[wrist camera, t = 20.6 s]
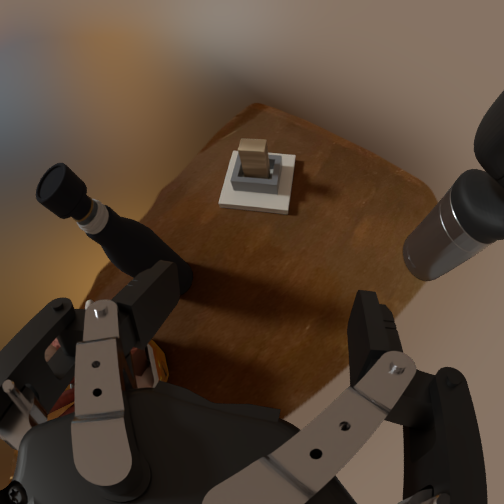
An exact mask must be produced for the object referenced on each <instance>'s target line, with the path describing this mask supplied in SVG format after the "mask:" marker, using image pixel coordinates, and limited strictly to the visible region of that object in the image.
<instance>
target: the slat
mask: <svg viewBox="0 0 504 504" xmlns="http://www.w3.org/2000/svg"><path fill="white" fill-rule="evenodd" d="M238 153H239V156H240V160H241V164H242V168H243V172H244V176H245V177H249V178H261V179H270V164H269V156H268V148H267V140H262V139H241V141H240V145H239V148H238Z"/></svg>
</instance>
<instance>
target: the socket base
mask: <svg viewBox="0 0 504 504" xmlns="http://www.w3.org/2000/svg"><path fill="white" fill-rule="evenodd" d="M268 156H269V164H270V179H261V178H249V177H245V176H244V172H243V168H242V164H241V160H240V156H239V153H238V151H233V154H232V157H231V160H230V164H229V167H228V171H227V174H226V178H225V181H224V185H223V189H222V192H221V196H220V199H219V206H220V207H221V208H232V209H242V210H251V211H260V212H269V213H278V214H286V215H288V210H289V203H290V196H291V188H292V181H293V174H294V166H295V155H287V154H276V153H268Z"/></svg>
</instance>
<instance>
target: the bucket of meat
mask: <svg viewBox="0 0 504 504" xmlns="http://www.w3.org/2000/svg"><path fill="white" fill-rule="evenodd" d="M92 303H94V302H93V301H92V300H88V301H87V302H86V306H85V310H86V309H87V307H88V306H89V305H91V304H92ZM59 348H60V344H59V342H58V340H57V338H56V339H55V340H54V341H53V342H52V343H51V344H50V346H49V347H48V348H47V349H46V351H45V360H46V362H48V361H49V359H50V358H51V357H52V356H53V355H54V353H55V352H56V351H57V350H58V349H59ZM131 354H132V359H133V365H134V371H135V376H136V382H137V387H138V388H145V387H151V388H155V386H156V385H157V383H158V381H159V380H160V381H163V382H167V379H168V376H169V372H168V367H167V363H166V358H165V353H164V352H163V351H162V350H161V349H160V348H159V347H158V346H157V344H156V343H155V342H154V341H153V340H152V339H151V340H150V342H149V343H148V344H147V346H146V347H145V349H144V350H141V349H138V348H135V347H133V348H132V350H131ZM69 384H70V387H71V389H69V390H67V391H65V392H63V393H62V395H61V396H60V397H59V399H58V400H57V402H56V403H55V405H54V406H53V408H52V409H51V411H50V412H49V413H51V412H53V411H55V410H58V409H60V408H62V407H64V406H66V405H68V404H70V403H72V402H74V401H75V376H74V378H73V379H72V381H71V382H70V383H69ZM72 412H75V403H74V404H73V405H72V406H71V407H70V408H68V409H67V410H66V411H65V412H64V413H63V414H62V415H60V416H59V417H61V416H64V415H67V414H70V413H72Z"/></svg>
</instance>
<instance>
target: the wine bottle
mask: <svg viewBox="0 0 504 504" xmlns="http://www.w3.org/2000/svg"><path fill="white" fill-rule="evenodd" d="M86 193H87V187H86V185H85V183H84V182H83V181H82V180H81V179H80V178H79V177H78V176H77V175H76V174H75V173H74V172H72V170H71V169H70V168H69V167H67V165H65V164H64V163H57V164H55V165H54V166H52V167H51V168H49V169H48V170H47V172H46V173H45V174H44V175H43V177H42V178H41V180H40V182H39V184H38V186H37V190H36V199H37V201H38V202H39V203H41V204H42V205H43V206H45V207H46V208H47V209H49V210H50V211H51V212H53V213H54V214H56V215H57V216H58V217H60V218H62V219H65V218H69V217H72V218H73V219H74V220H75V221H76V222H77V224H78V225H79V228H80V229H82V230H84V231H85V232H86V234H87V236H88V237H90V238H91V239H92V240H94V241H95V242H97V243H99V244H100V245H101V246H102V248H103V250H104V251H105V253H106V255H107V256H108V258H109V259H110V260H111V262H112V263H113V264H114V265H115V266H116V267H117V268H119V269H120V270H121V271H122V272H124V273H126V274H128V275H130V276H132V277H133V278H135V277H136V276H137V275H138V274H139V273H141V272H143V271H145V270H147V269H151V268H152V267H153V266H154V265H155V264H156V263H157V262H158V261H159V260H163V261H169V262H174V263H176V265H177V269H178V279H179V288H180V295H182V294H184V293H185V292H186V291H187V290H188V289H189V287H190V286H191V283H192V280H193V273H192V270H191V268H190V266H189V265H188V264H187V263H186V262H185V261H184V260H183V259H182V258H181V257H180V256H179V255H177V254H176V253H175V252H174V251H173V250H172V249H171V248H170V247H169V246H168V245H167V244H166V243H165V242H163V241H162V240H161V239H160V238H159V237H158V236H157V235H156V234H155V233H154V232H153V231H152V230H151V229H150V228H148V227H146V226H145V225H143V224H141V223H139V222H137V221H135V220H132V219H128V218H124V217H120V216H119V215H118V214H117V213H116V212H114V211H113V210H112V209H111V208H110V207H108V206H107V205H103V204H102V203H101V202H100V201H98V200H95V199H92V198H90V197H89V196H87V195H86Z"/></svg>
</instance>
